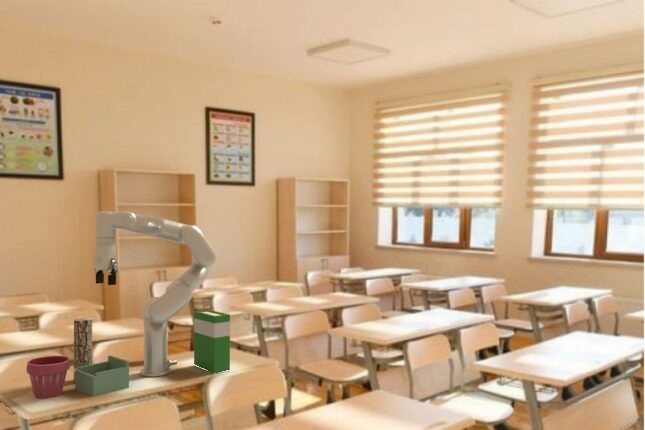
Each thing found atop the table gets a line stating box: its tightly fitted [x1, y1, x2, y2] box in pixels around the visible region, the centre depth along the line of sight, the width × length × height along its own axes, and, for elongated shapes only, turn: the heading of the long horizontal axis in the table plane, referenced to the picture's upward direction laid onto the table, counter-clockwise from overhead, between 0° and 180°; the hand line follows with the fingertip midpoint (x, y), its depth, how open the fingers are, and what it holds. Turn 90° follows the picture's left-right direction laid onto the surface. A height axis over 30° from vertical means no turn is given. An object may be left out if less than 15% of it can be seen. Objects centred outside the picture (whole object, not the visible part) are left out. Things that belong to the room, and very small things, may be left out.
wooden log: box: [73, 315, 94, 382], centre depth 215 cm, size 7×7×25 cm
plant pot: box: [26, 355, 71, 400], centre depth 197 cm, size 14×14×13 cm
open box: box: [74, 355, 130, 397], centre depth 205 cm, size 14×14×10 cm
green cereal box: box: [193, 309, 231, 374], centre depth 234 cm, size 18×7×24 cm, turn 42°
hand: (105, 284), depth 218 cm, fingers open, 9 cm apart
